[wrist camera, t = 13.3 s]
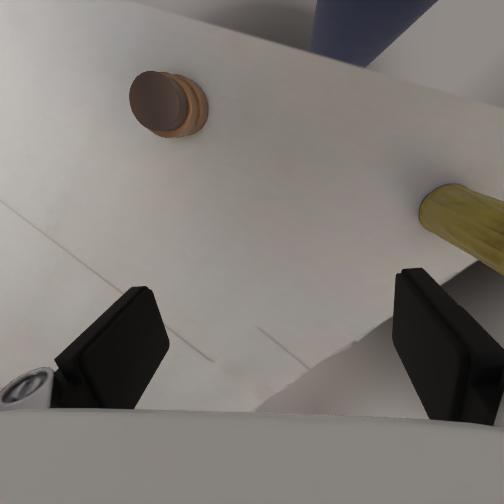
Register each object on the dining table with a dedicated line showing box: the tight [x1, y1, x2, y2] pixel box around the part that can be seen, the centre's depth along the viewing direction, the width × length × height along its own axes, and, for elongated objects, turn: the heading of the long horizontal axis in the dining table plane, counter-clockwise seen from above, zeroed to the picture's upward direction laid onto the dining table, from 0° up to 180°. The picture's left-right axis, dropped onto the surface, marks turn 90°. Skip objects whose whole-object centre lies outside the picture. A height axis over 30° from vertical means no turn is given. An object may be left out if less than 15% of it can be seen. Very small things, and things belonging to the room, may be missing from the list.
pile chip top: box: [149, 72, 200, 138], centre depth 29 cm, size 6×6×2 cm
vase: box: [419, 184, 504, 276], centre depth 26 cm, size 6×6×14 cm
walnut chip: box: [129, 71, 188, 131], centre depth 26 cm, size 5×5×2 cm
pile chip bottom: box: [172, 74, 208, 135], centre depth 31 cm, size 6×6×2 cm
